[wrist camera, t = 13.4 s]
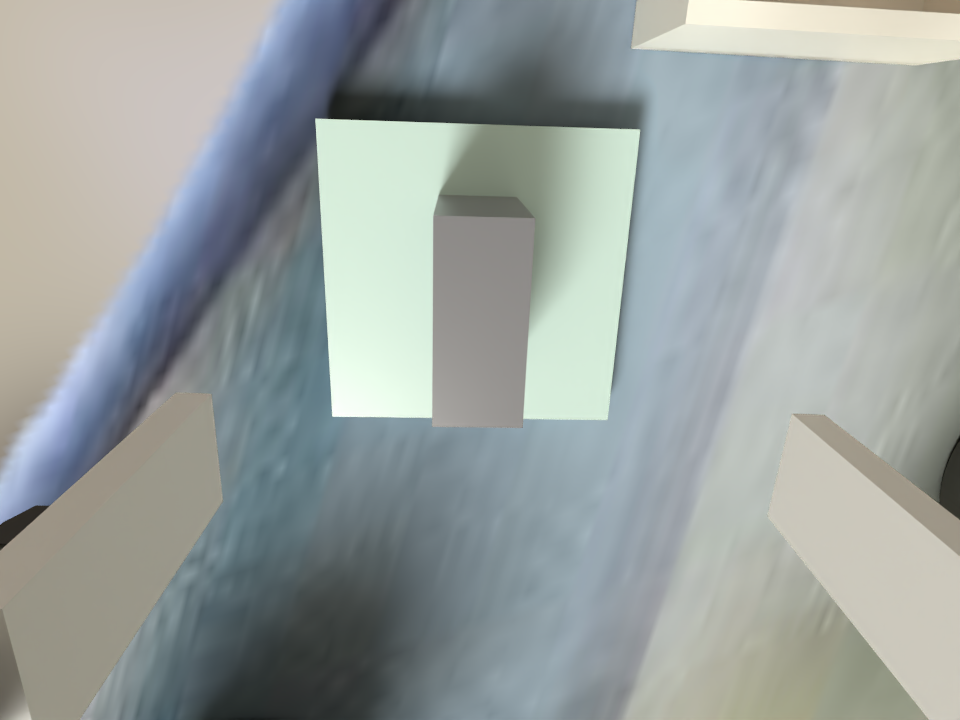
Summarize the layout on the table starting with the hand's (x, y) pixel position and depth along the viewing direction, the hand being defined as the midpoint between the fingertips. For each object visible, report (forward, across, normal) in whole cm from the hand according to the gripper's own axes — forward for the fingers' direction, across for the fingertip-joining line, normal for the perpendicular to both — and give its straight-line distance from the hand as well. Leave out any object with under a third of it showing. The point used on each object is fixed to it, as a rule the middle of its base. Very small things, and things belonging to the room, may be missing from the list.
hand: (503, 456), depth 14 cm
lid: (+17, 0, 0) cm, 17 cm away
